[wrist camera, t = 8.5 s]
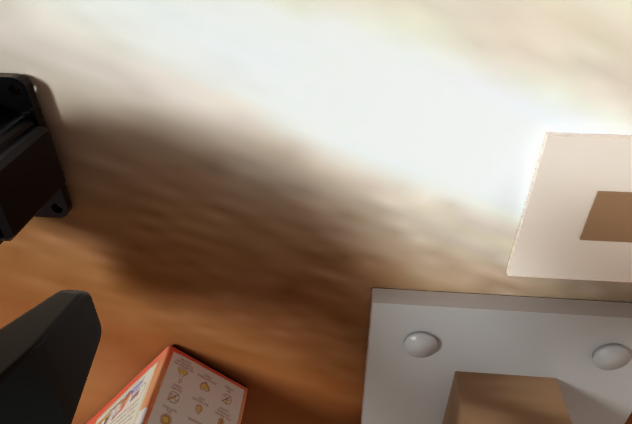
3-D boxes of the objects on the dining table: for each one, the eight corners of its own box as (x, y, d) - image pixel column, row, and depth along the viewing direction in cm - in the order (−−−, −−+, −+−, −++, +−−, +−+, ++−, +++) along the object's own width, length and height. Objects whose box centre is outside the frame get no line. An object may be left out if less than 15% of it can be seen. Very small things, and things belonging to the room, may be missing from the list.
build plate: (358, 447, 32) (358, 468, 31) (372, 287, 24) (372, 307, 23) (583, 466, 31) (591, 487, 30) (675, 305, 23) (689, 326, 22)
